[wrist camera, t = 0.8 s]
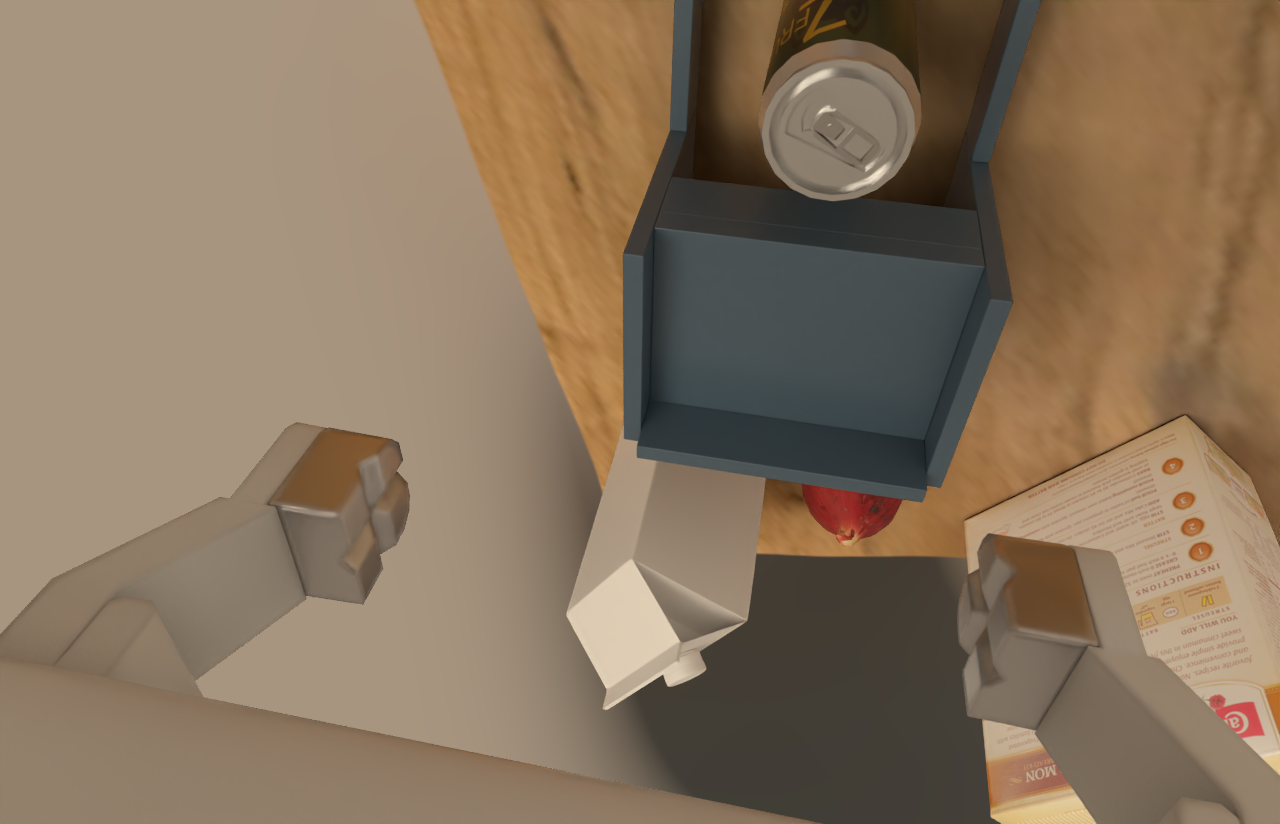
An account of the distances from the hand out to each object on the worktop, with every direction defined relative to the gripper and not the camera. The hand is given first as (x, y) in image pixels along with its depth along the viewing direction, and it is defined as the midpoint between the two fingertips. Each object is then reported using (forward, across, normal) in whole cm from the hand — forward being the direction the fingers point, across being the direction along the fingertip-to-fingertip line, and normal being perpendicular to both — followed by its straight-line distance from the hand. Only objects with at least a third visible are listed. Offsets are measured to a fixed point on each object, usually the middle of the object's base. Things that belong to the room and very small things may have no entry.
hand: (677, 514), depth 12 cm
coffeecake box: (+34, -23, +28) cm, 50 cm away
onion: (+34, -8, +27) cm, 44 cm away
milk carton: (+34, +2, +27) cm, 44 cm away
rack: (+32, -2, +6) cm, 33 cm away
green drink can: (+32, -2, +1) cm, 32 cm away
